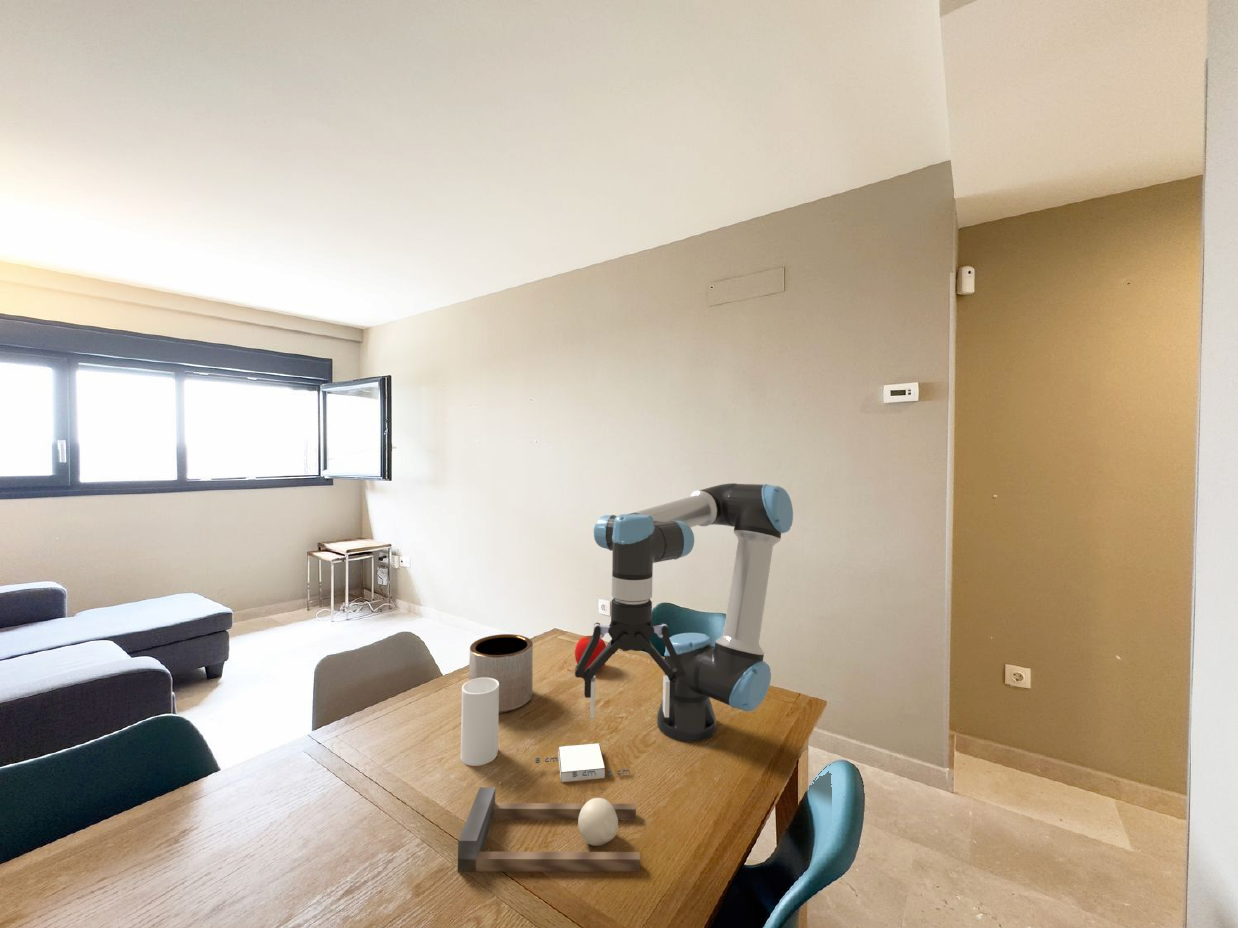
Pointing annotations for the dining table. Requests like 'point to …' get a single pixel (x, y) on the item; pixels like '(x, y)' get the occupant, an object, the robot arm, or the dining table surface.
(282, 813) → the dining table surface
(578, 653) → the tomato
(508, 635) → the planter
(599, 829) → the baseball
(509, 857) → the channel
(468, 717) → the cup
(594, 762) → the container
